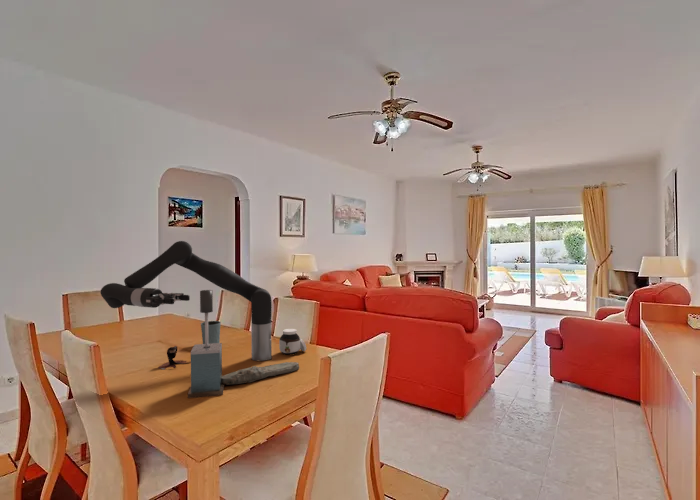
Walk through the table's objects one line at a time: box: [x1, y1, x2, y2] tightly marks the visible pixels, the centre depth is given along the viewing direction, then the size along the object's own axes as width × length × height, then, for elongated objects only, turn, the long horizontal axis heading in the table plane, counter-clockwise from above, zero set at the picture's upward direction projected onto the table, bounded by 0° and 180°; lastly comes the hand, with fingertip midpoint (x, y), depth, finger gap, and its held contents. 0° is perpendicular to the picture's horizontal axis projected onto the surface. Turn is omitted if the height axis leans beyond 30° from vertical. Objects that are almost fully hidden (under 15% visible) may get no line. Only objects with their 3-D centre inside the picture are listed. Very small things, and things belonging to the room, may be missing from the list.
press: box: [187, 342, 226, 399], centre depth 146 cm, size 12×12×16 cm
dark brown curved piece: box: [157, 345, 189, 371], centre depth 177 cm, size 11×12×15 cm
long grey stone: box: [221, 361, 300, 385], centre depth 161 cm, size 35×5×10 cm
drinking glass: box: [200, 320, 221, 344], centre depth 209 cm, size 10×10×12 cm
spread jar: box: [278, 328, 307, 356], centre depth 195 cm, size 12×11×12 cm
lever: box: [199, 289, 214, 348], centre depth 146 cm, size 4×4×25 cm
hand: (181, 299), depth 148 cm, fingers open, 8 cm apart
